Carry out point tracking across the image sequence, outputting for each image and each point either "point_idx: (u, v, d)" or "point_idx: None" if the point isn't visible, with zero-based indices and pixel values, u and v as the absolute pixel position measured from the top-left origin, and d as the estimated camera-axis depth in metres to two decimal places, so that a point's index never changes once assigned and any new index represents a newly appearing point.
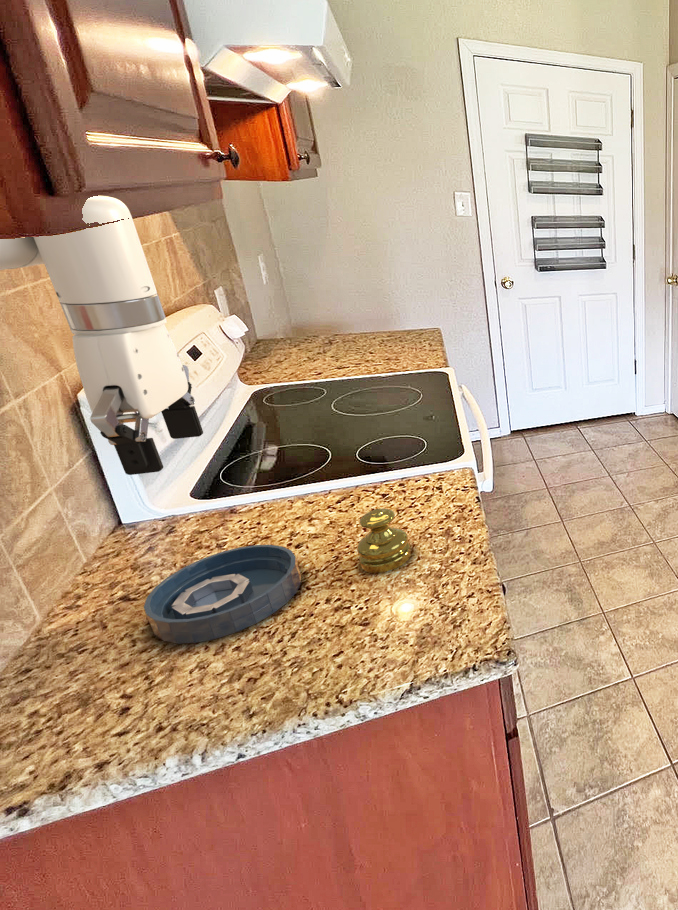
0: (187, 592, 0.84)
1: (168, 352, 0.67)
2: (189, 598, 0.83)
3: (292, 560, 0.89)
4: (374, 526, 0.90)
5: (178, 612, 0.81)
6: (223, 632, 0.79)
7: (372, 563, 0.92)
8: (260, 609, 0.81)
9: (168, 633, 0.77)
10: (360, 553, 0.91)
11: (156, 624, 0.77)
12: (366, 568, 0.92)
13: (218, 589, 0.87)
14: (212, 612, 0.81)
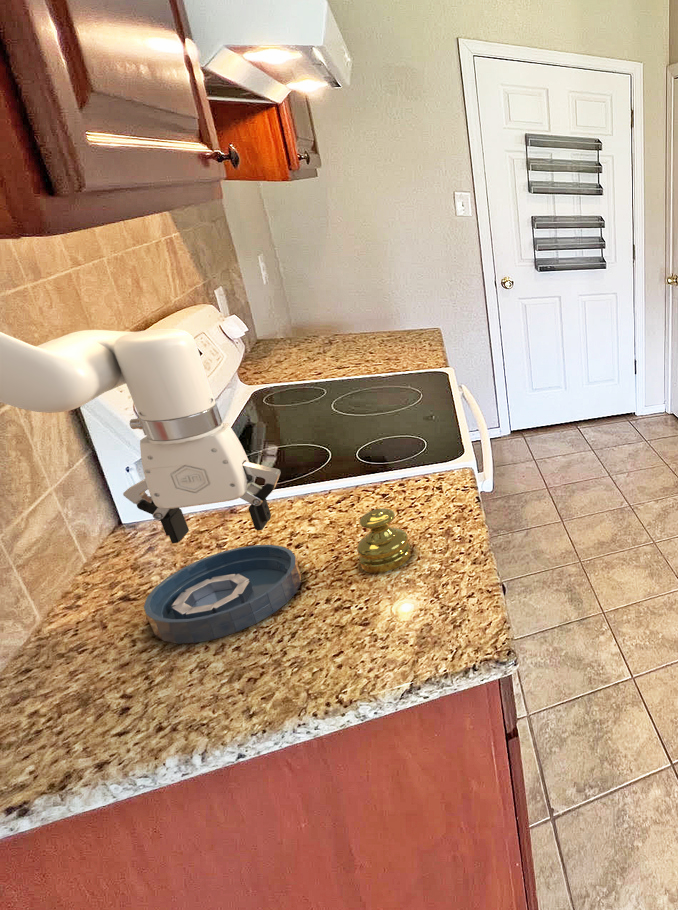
0: (187, 592, 0.84)
1: None
2: (189, 598, 0.83)
3: (292, 560, 0.89)
4: (374, 526, 0.90)
5: (178, 612, 0.81)
6: (223, 632, 0.79)
7: (372, 563, 0.92)
8: (260, 609, 0.81)
9: (168, 633, 0.77)
10: (360, 553, 0.91)
11: (156, 624, 0.77)
12: (366, 568, 0.92)
13: (218, 589, 0.87)
14: (212, 612, 0.81)
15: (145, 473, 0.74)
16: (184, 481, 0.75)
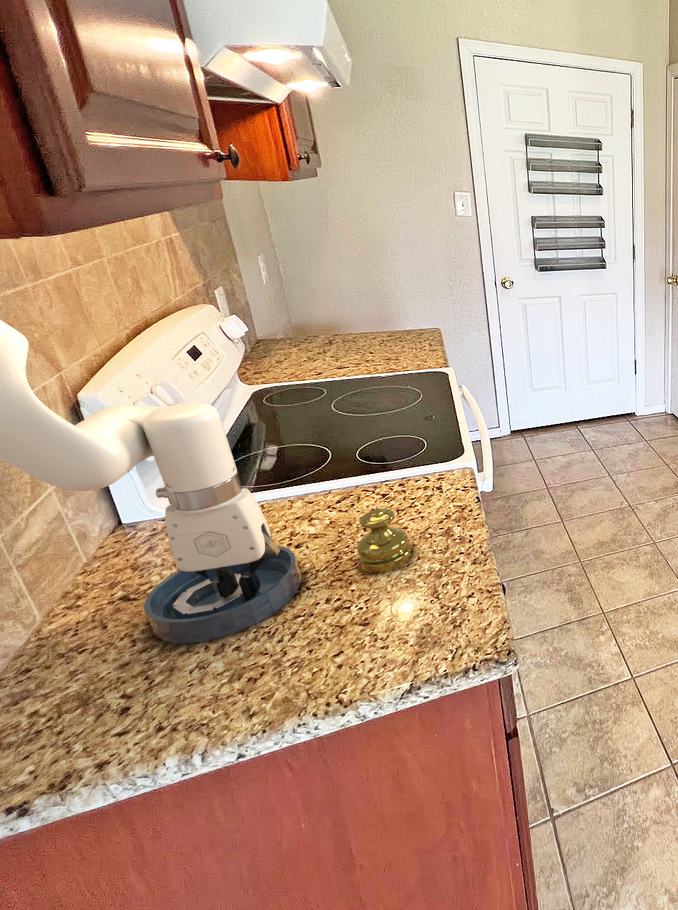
0: (188, 592, 0.84)
1: None
2: (190, 598, 0.83)
3: (292, 560, 0.89)
4: (374, 526, 0.90)
5: (179, 612, 0.81)
6: (223, 632, 0.79)
7: (372, 563, 0.92)
8: (260, 609, 0.81)
9: (168, 633, 0.77)
10: (360, 553, 0.91)
11: (156, 624, 0.77)
12: (366, 568, 0.92)
13: None
14: (213, 612, 0.81)
15: (170, 539, 0.78)
16: (206, 546, 0.79)
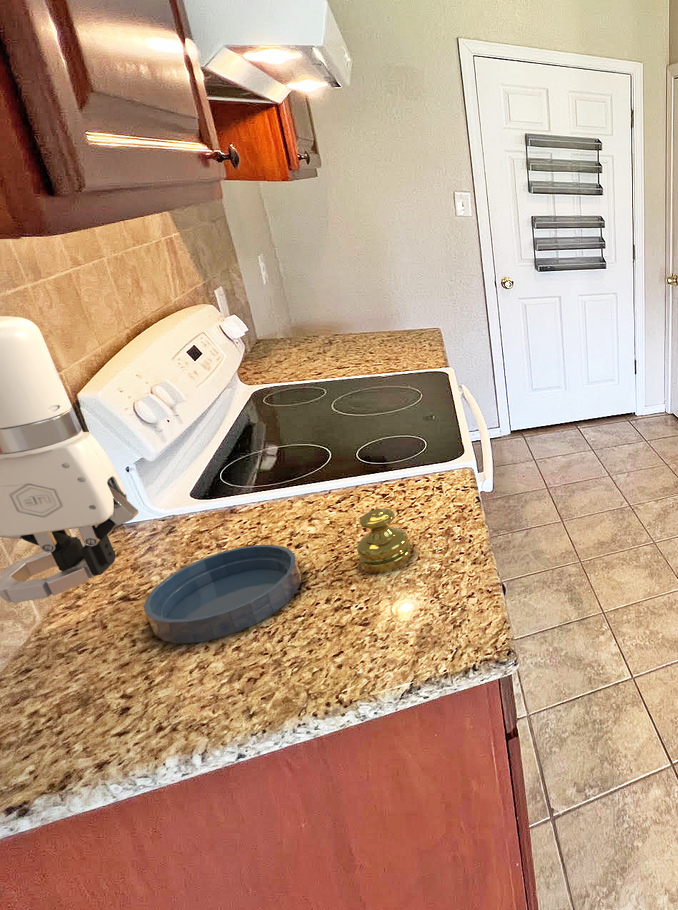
0: (19, 564, 0.67)
1: None
2: (19, 571, 0.66)
3: (292, 560, 0.89)
4: (374, 526, 0.90)
5: None
6: (223, 632, 0.79)
7: (372, 563, 0.92)
8: (260, 609, 0.81)
9: (168, 633, 0.77)
10: (360, 553, 0.91)
11: (156, 624, 0.77)
12: (366, 568, 0.92)
13: None
14: (43, 588, 0.64)
15: None
16: (28, 503, 0.62)
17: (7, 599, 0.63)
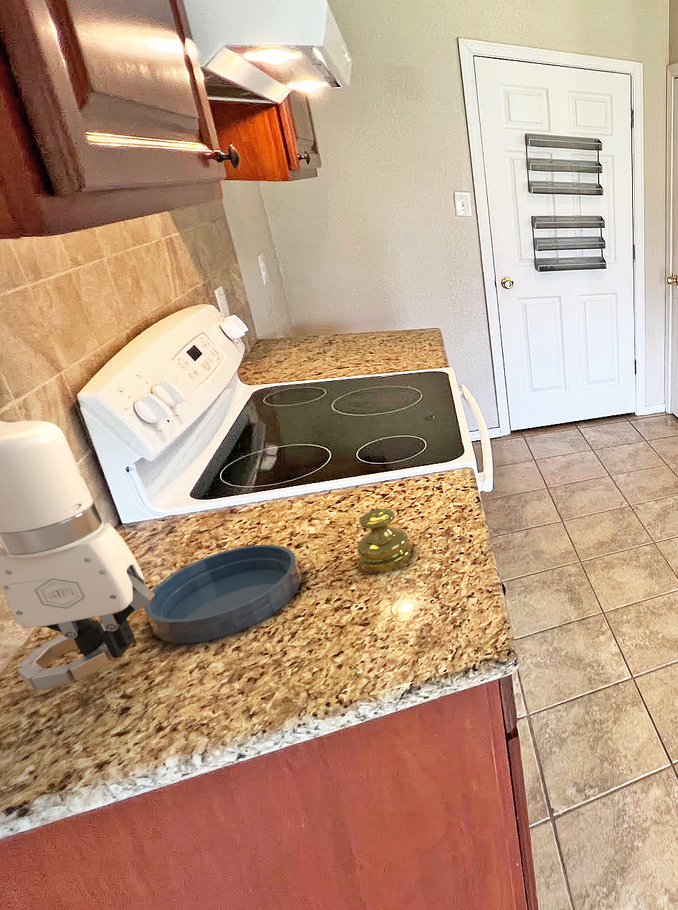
0: (43, 648, 0.70)
1: None
2: (43, 656, 0.69)
3: (292, 560, 0.89)
4: (374, 526, 0.90)
5: (24, 675, 0.66)
6: (223, 632, 0.79)
7: (372, 563, 0.92)
8: (260, 609, 0.81)
9: (168, 633, 0.77)
10: (360, 553, 0.91)
11: (156, 624, 0.77)
12: (366, 568, 0.92)
13: None
14: (67, 675, 0.67)
15: (3, 590, 0.63)
16: (52, 596, 0.65)
17: (32, 686, 0.66)
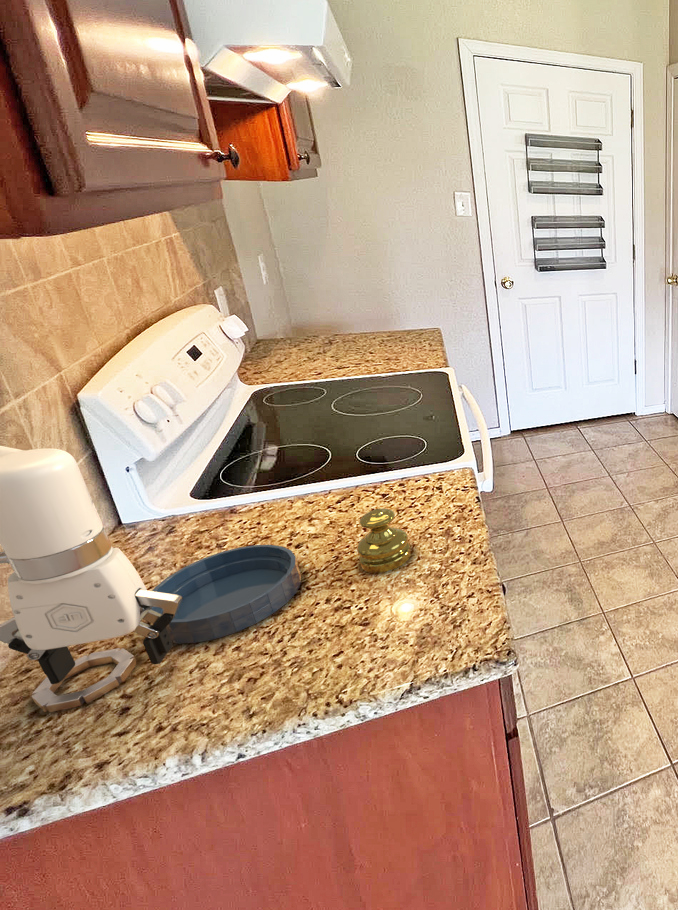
0: None
1: None
2: None
3: (292, 560, 0.89)
4: (374, 526, 0.90)
5: (38, 702, 0.68)
6: (223, 632, 0.79)
7: (372, 563, 0.92)
8: (260, 609, 0.81)
9: None
10: (360, 553, 0.91)
11: None
12: (366, 568, 0.92)
13: None
14: (80, 701, 0.68)
15: (14, 614, 0.64)
16: (62, 620, 0.66)
17: None
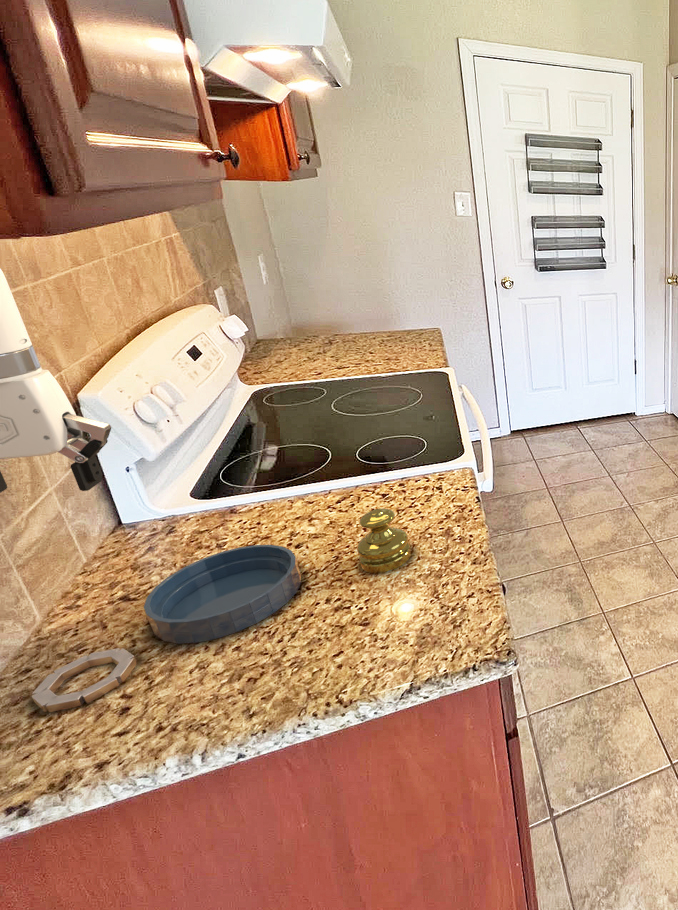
0: (56, 674, 0.71)
1: None
2: (56, 682, 0.70)
3: (292, 560, 0.89)
4: (374, 526, 0.90)
5: (38, 702, 0.68)
6: (223, 632, 0.79)
7: (372, 563, 0.92)
8: (260, 609, 0.81)
9: (168, 633, 0.77)
10: (360, 553, 0.91)
11: (156, 624, 0.77)
12: (366, 568, 0.92)
13: None
14: (80, 701, 0.68)
15: None
16: None
17: None
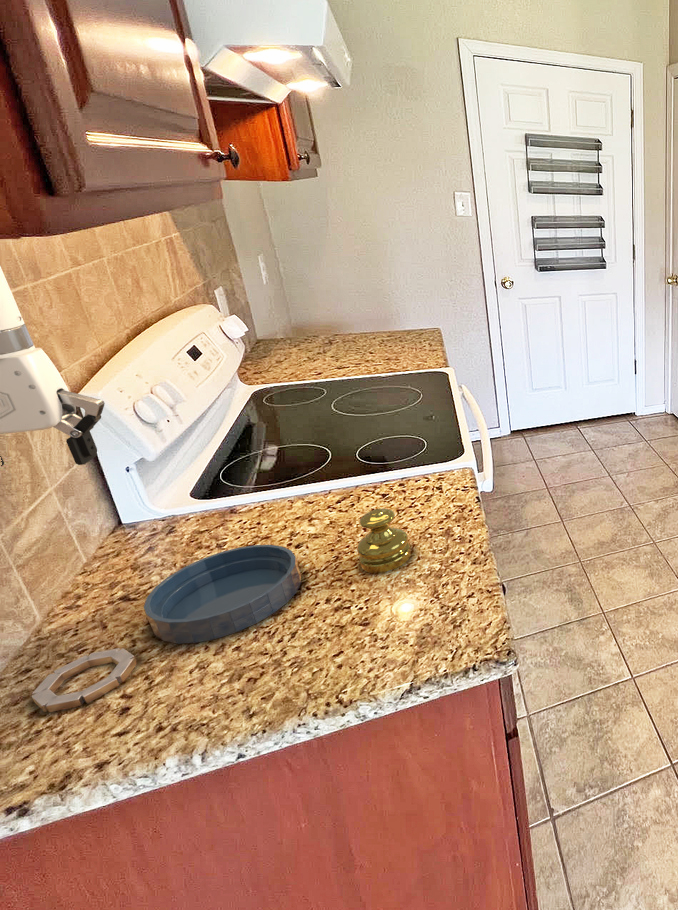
0: (56, 674, 0.71)
1: None
2: (56, 682, 0.70)
3: (292, 560, 0.89)
4: (374, 526, 0.90)
5: (38, 702, 0.68)
6: (223, 632, 0.79)
7: (372, 563, 0.92)
8: (260, 609, 0.81)
9: (168, 633, 0.77)
10: (360, 553, 0.91)
11: (156, 624, 0.77)
12: (366, 568, 0.92)
13: None
14: (80, 701, 0.68)
15: None
16: None
17: None
